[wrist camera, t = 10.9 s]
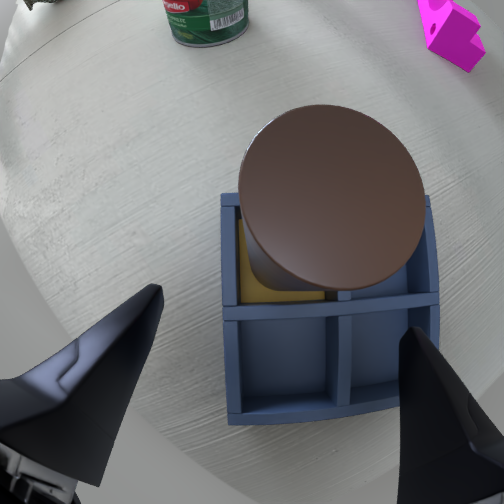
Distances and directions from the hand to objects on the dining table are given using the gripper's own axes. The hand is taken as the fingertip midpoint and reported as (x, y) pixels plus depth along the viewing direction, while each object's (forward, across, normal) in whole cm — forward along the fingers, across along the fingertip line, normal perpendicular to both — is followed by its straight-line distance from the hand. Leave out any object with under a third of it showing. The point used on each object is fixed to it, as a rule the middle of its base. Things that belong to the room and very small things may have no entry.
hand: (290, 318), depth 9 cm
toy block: (+33, -18, -20) cm, 42 cm away
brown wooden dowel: (+8, 0, +4) cm, 9 cm away
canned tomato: (+24, +10, -11) cm, 29 cm away
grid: (+7, -4, +6) cm, 10 cm away
